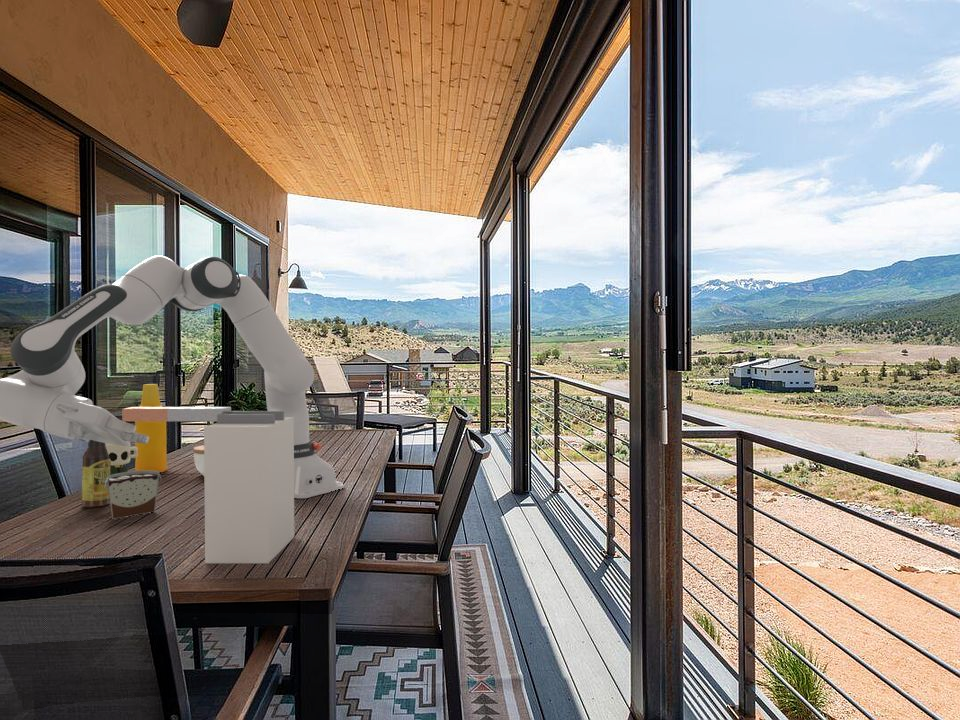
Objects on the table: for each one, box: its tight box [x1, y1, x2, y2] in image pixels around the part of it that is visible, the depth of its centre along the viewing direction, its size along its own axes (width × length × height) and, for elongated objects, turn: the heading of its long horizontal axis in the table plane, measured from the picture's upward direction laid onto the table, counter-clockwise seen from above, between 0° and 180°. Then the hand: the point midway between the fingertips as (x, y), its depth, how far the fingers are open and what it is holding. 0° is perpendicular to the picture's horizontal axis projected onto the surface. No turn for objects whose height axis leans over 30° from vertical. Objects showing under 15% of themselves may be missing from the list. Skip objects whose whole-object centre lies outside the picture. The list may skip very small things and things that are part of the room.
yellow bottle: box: [134, 383, 168, 474], centre depth 200 cm, size 9×9×29 cm
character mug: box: [105, 443, 138, 475], centre depth 179 cm, size 11×7×13 cm, turn 130°
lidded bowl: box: [192, 444, 204, 477], centre depth 195 cm, size 13×13×11 cm
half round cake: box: [104, 470, 162, 520], centre depth 149 cm, size 12×6×10 cm, turn 134°
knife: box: [121, 406, 232, 422], centre depth 122 cm, size 20×4×2 cm, turn 90°
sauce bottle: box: [81, 440, 110, 509], centre depth 157 cm, size 7×6×20 cm
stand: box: [203, 410, 295, 564], centre depth 122 cm, size 12×16×28 cm
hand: (141, 435), depth 127 cm, fingers open, 8 cm apart
